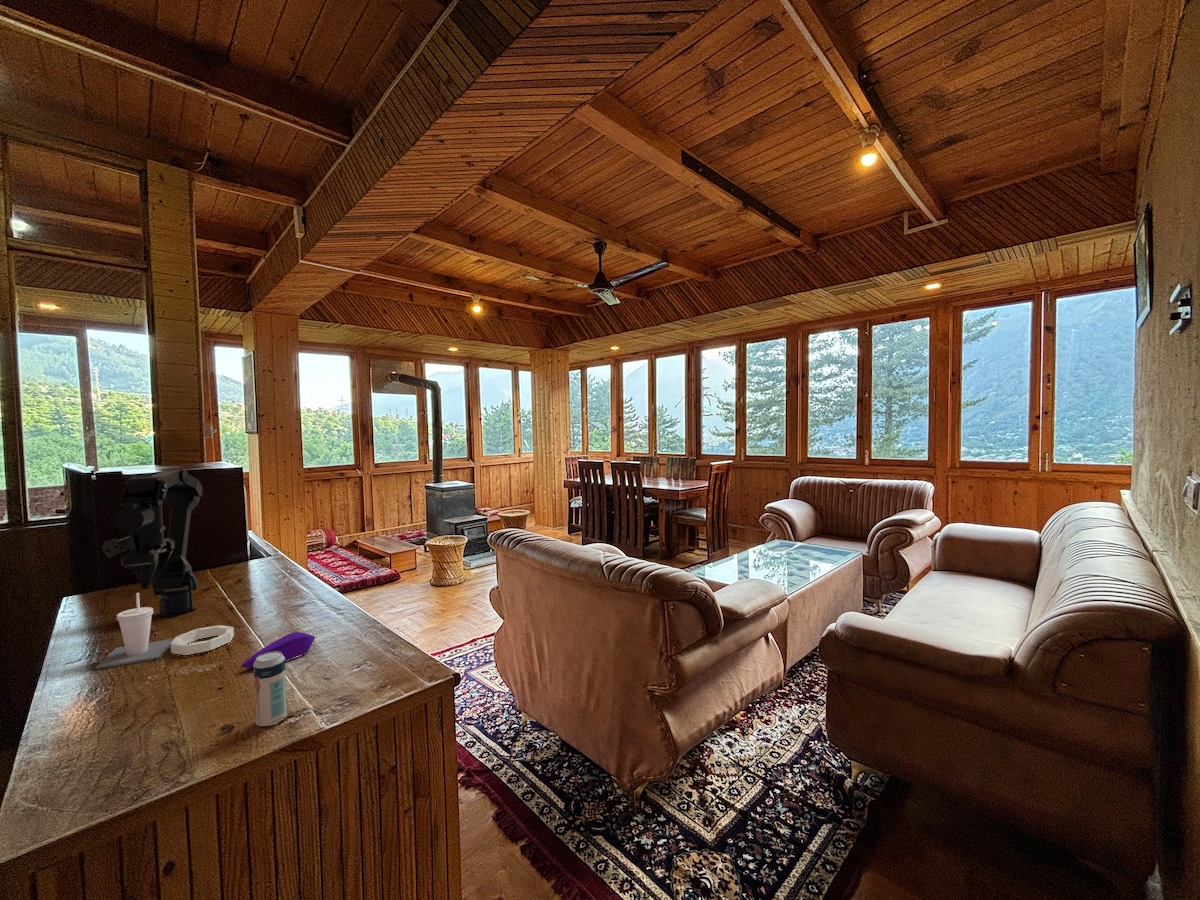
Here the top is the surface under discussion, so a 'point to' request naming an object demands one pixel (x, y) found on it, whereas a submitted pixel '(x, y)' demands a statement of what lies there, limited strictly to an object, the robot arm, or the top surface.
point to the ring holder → (184, 648)
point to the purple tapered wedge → (285, 647)
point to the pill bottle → (270, 688)
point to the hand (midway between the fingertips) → (151, 583)
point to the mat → (122, 658)
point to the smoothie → (136, 628)
